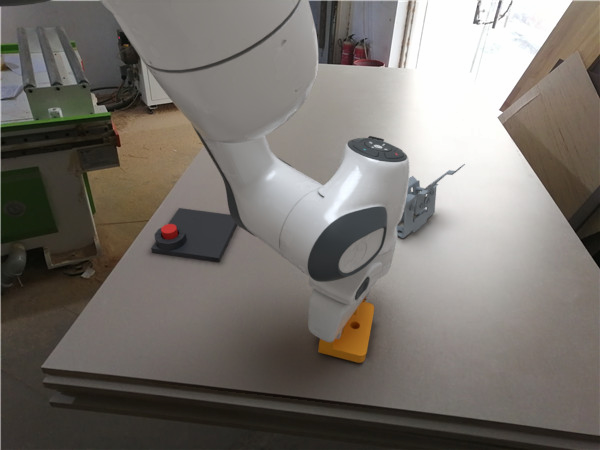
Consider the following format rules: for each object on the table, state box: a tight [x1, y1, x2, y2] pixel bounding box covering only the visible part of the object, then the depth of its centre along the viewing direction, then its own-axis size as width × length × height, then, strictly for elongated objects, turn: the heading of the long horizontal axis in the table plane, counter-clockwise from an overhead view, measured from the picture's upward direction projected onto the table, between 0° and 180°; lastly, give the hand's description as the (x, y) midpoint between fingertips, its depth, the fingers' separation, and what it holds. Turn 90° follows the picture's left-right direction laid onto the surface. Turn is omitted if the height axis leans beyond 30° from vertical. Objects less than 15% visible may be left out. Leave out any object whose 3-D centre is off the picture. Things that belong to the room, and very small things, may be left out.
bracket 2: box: [397, 163, 466, 239], centre depth 86 cm, size 13×10×15 cm
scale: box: [150, 207, 238, 263], centre depth 85 cm, size 14×14×3 cm
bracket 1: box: [317, 301, 375, 364], centre depth 63 cm, size 11×7×12 cm, turn 164°
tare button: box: [160, 223, 178, 240], centre depth 81 cm, size 3×3×2 cm
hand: (349, 315), depth 64 cm, fingers open, 7 cm apart
